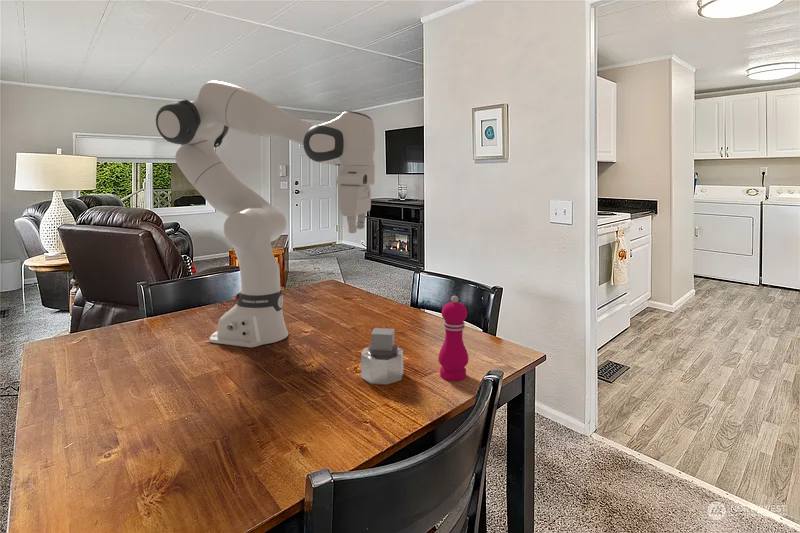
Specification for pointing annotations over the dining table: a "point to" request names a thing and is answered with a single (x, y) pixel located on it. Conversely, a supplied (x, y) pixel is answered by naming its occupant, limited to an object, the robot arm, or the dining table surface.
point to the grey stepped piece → (383, 343)
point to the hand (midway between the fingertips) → (356, 230)
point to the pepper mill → (453, 342)
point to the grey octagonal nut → (381, 368)
